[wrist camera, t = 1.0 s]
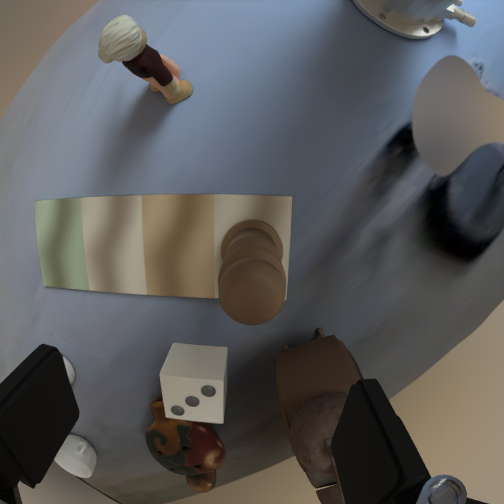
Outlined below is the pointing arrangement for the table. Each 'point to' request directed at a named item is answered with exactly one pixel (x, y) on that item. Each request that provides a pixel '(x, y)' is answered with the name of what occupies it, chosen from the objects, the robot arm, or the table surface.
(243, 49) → the table surface
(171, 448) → the decorative turtle
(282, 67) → the table surface
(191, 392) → the die
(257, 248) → the pawn
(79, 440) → the teacup
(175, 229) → the track board
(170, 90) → the grandmother figurine
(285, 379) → the alarm clock
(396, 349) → the table surface
